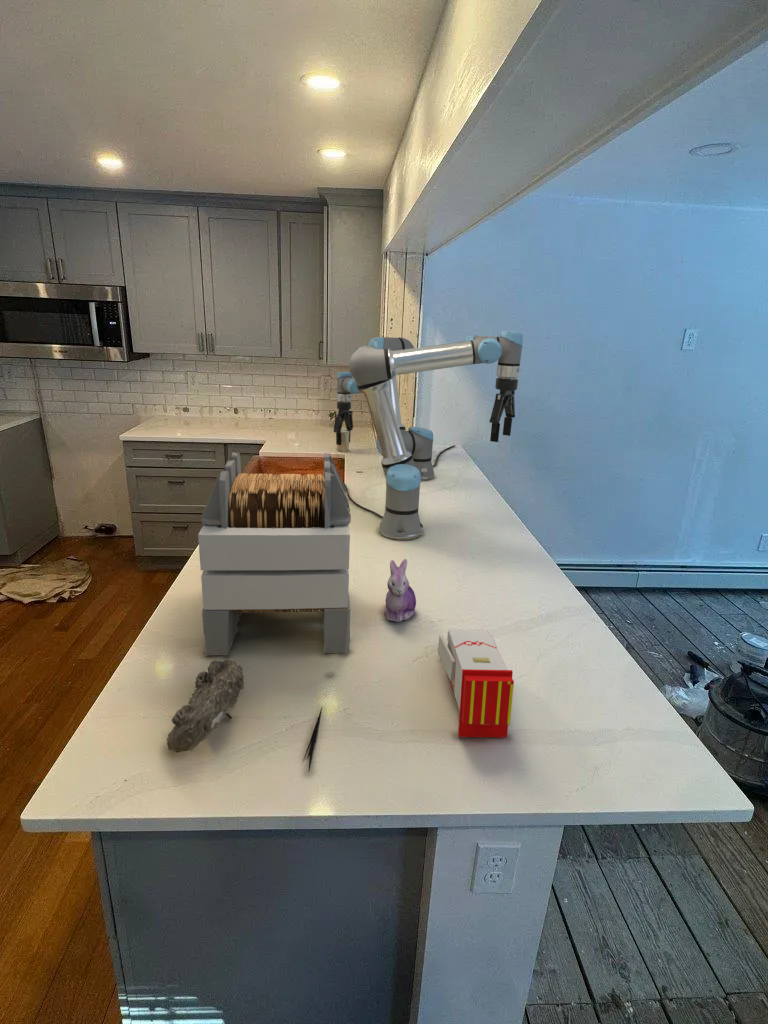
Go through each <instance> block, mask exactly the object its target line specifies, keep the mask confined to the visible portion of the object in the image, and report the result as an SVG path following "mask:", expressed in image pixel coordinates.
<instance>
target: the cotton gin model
mask: <svg viewBox="0 0 768 1024" xmlns="http://www.w3.org/2000/svg"><path fill="white" fill-rule="evenodd" d="M241 463H242V462H241V453H240V452H235V451H233V452H231V455H230V457H229V459H227V460H226V463H225V466H224V468H223V470H222V471H220V474H219V475H218V477H217V479H216V482H215V483H214V486H213V489H212V491H211V494H210V495H209V498H208V499H207V502H206V505H205V507H204V509H203V511H202V514H201V517H200V520H201V524H202V527H201V529H200V530H199V532H198V535H197V538H198V550H199V552H198V553H199V563H200V565H199V567H200V571H202V573H201V575H200V580H201V581H200V582H201V594H202V605H203V607H202V609H201V610H202V611H201V617H202V629H203V638H204V639H203V640H204V649H205V650H204V651H205V652H204V655H205V656H206V657H212V656H228V654H229V652H230V650H231V647H232V645H233V643H234V640H235V638H236V635H237V632H238V623H240V620H241V617H242V614H244V613H250V614H251V613H253V614H254V613H257V614H258V613H298V612H301V613H302V612H308V613H309V612H322V614H323V654H344V655H346V654H347V653H349V652H350V639H351V604H350V595H349V594H350V593H349V586H350V585H349V584H350V572H349V571H350V570H349V569H350V549H351V548H350V547H351V545H350V542H351V533H350V532H351V531H350V526H349V525H350V524H351V520H352V516H351V515H352V514H351V509H350V502H349V498H348V495H347V490H348V489H347V490H346V488H345V486H344V484H345V483H344V481H343V480H342V478H341V474H340V473H339V471H338V469H337V466H336V465H335V462H334V460H333V458H332V455H331V454H330V453H326V452H324V453H323V473H322V474H321V473H318V474H316V475H315V474H314V473H306V474H303V475H302V474H301V473H280V474H273V473H244V472H243V473H242V466H241ZM342 481H343V482H342ZM343 483H344V484H343Z"/></svg>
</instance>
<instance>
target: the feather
mask: <svg viewBox="0 0 768 1024" xmlns="http://www.w3.org/2000/svg"><path fill="white" fill-rule="evenodd" d="M329 675H330V676H331V675H332V674H331V673H330V674H329ZM322 710H323V707H321V708H320V710H319V713H318V716H317V719H316V723H315V725H314V728H313V731H312V733H311V737H310V739H309V742H308V745H307V748H306V751H305V754H304V757H303V760H302V763H301V767H302V765H303V763H304V761H305V758H308V759H309V760H308V762H307V763H308V764H307V766H308V771H310V770H311V766H312V765H311V764H312V760H313V757H315V756H314V755H315V751H316V749H315V746H317V739H318V733H319V729H320V722H321V717H322V712H323V711H322ZM313 754H314V755H313ZM306 755H307V757H306Z"/></svg>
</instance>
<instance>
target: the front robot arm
mask: <svg viewBox="0 0 768 1024" xmlns="http://www.w3.org/2000/svg"><path fill="white" fill-rule="evenodd" d="M523 342H524V334H523V332H521V331H513V330H502V331H501V333H500V336H487V335H486V336H485V335H467V336H466V337H465V339H464V341H458V342H457V341H456V342H449V343H442V344H436V345H428V346H420V347H414V348H412V349H405V350H398V351H391V350H390V349H378V348H376V347H374V346H371V345H368V344H365V345H361V346H359V347H357V348H356V349H355V350H354V351H353V352H352V354H351V356H350V357H349V361H348V369H349V372H350V373H351V375H352V378H354V379H355V382H356V385H357V388H358V390H359V391H361V392H362V393H361V394H363V395H364V398H365V402H366V406H367V408H368V413H369V415H370V419H371V421H372V422H371V423H372V424H373V429H374V431H375V435H376V437H377V438H378V441H379V444H380V447H381V451H382V454H383V456H382V459H381V461H380V464H381V468H382V470H383V474H384V477H385V504H384V505H385V507H384V508H385V509H384V513H383V515H381V514H379V513H378V512H376V511H374V510H371V509H369V508H367V507H364V506H362V505H360V504H359V503H357V502H356V501H355V500H354V499H353V498H352V497H351V496H350V492H349V490H348V486H347V485H346V483H345V482H344V481H343V480H342V482H343V484H344V486H345V488H346V490H347V495H348V500H349V501H350V502H351V503H352V504H354V505H355V506H356V507H358V508H359V509H362V510H364V511H366V512H368V513H370V514H372V515H375V516H376V517H378V518H380V519H381V522H379V526H378V533H379V534H380V535H381V536H382V537H385V538H387V539H389V540H395V541H410V540H415V539H418V538H420V537H421V536H422V535H423V529H424V526H423V524H422V523H421V518H420V515H419V507H420V506H419V505H420V504H419V503H420V490H421V483H422V481H421V474H420V471H419V469H418V468H416V466H415V464H414V461H413V457H412V454H411V452H409V451H407V450H406V448H405V445H404V442H403V438H402V435H401V431H400V428H399V425H398V421H397V418H396V414H395V411H394V408H393V404H392V401H391V398H390V394H389V391H388V387H387V385H388V383H389V381H390V379H393V378H394V376H396V377H397V376H401V375H407V374H414V373H421V372H429V371H436V370H443V369H449V368H457V367H464V366H471V365H480V364H486V365H488V364H489V365H490V364H494V363H496V362H497V367H496V374H495V375H496V379H495V389H496V390H499V393H496V394H495V398H494V403H493V407H492V410H491V414H490V418H489V423H491V429H490V438H489V441H490V442H493V443H498V442H499V438H500V430H501V429H500V428H501V423H500V422H501V418H502V417H503V413H504V415H505V416H504V419H503V427H502V428H503V429H502V436H508V437H510V436H511V433H512V425H513V419H515V418H516V403H515V395H516V394H515V393H516V391H517V390H518V386H519V385H518V384H519V380H518V378H519V376H520V375H519V374H520V372H521V371H522V370H521V369H520V367H521V358H522V352H523V347H524V346H523V344H524V343H523ZM377 438H376V439H377Z"/></svg>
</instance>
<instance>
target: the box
mask: <svg viewBox="0 0 768 1024" xmlns="http://www.w3.org/2000/svg"><path fill="white" fill-rule="evenodd" d="M346 430H347V429H345V430H344V429H341V432H340V433H341V445H336V451H338V452H342V453H347V452H348V451H349V449H350V442H349V432H350V431H346Z"/></svg>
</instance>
